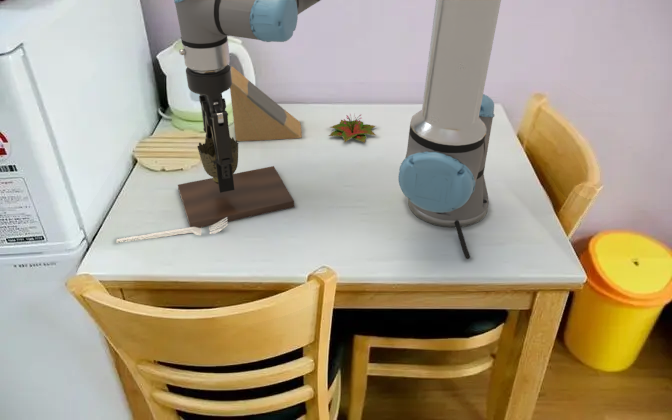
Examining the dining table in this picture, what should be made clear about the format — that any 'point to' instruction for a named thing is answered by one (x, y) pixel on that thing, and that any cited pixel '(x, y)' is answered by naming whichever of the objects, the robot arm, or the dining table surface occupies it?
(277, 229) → the dining table surface
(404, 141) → the dining table surface
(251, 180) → the walnut board
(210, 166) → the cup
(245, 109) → the sandwich container
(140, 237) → the fork
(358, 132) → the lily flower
